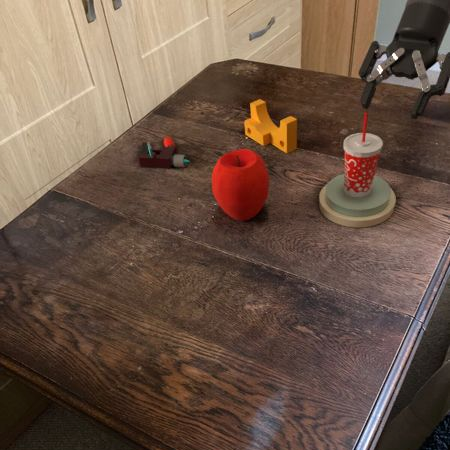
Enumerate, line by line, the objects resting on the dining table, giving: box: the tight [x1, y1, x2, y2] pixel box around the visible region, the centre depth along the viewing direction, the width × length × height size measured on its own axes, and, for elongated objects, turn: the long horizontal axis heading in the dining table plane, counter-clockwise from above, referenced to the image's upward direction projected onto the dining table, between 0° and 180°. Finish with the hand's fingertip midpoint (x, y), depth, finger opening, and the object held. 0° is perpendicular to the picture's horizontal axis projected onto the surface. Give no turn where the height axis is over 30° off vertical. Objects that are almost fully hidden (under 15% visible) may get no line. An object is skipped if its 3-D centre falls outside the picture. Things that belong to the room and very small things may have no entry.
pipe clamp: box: [244, 98, 298, 154], centre depth 102 cm, size 12×4×6 cm, turn 34°
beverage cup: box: [342, 111, 384, 197], centre depth 80 cm, size 6×6×14 cm
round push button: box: [318, 173, 397, 229], centre depth 86 cm, size 13×13×3 cm
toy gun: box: [136, 136, 191, 169], centre depth 102 cm, size 10×12×5 cm
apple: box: [211, 148, 270, 222], centre depth 84 cm, size 10×10×12 cm
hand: (388, 112), depth 82 cm, fingers open, 8 cm apart
